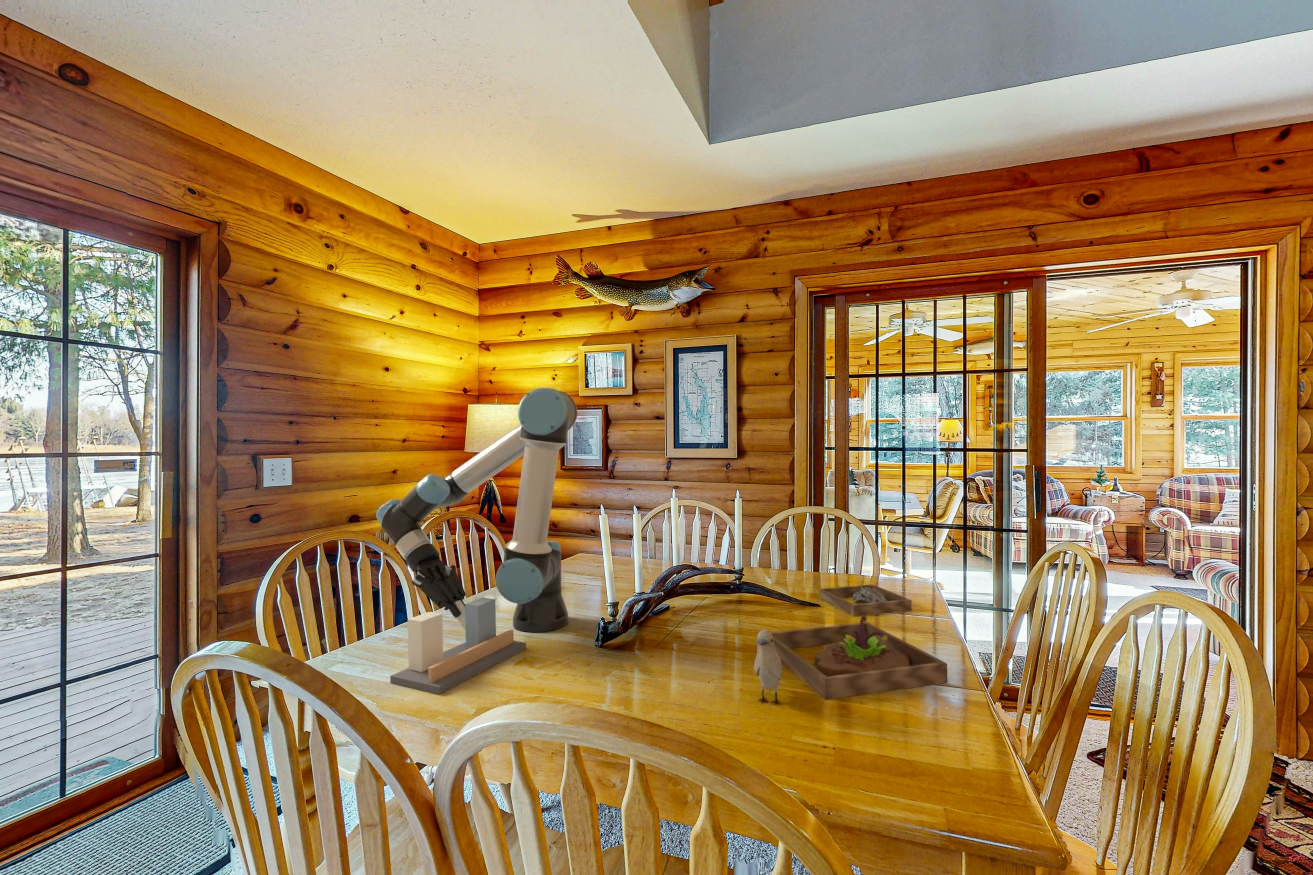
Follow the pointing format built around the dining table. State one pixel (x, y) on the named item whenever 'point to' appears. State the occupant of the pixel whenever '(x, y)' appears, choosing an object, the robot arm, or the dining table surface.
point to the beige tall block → (425, 641)
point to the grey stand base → (460, 664)
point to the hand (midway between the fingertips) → (469, 624)
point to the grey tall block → (480, 621)
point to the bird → (767, 664)
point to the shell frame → (891, 605)
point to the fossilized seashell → (867, 596)
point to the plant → (859, 654)
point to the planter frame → (917, 675)
